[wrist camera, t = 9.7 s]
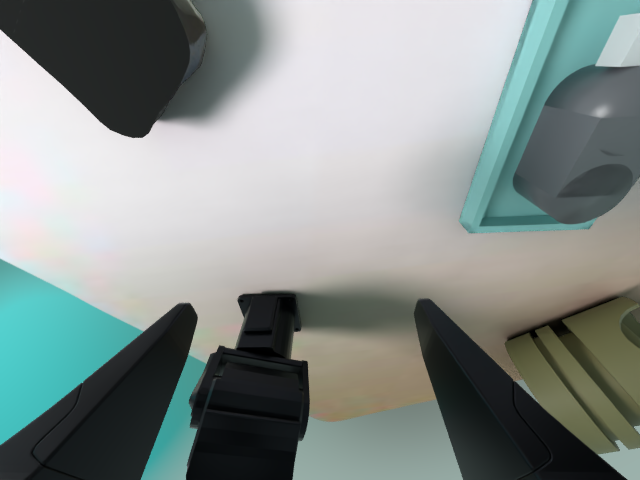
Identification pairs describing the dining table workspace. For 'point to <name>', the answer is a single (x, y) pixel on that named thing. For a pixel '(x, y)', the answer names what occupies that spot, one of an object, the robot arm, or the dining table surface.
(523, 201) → the tray
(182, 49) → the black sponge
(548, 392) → the piston
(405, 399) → the dining table surface
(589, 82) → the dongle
